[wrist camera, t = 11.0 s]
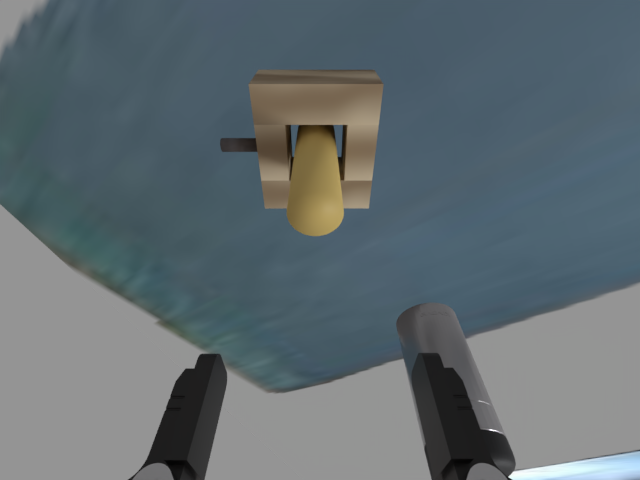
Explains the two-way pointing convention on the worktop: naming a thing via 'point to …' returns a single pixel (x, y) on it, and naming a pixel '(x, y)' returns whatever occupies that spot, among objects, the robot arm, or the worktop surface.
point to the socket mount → (313, 109)
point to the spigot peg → (315, 182)
